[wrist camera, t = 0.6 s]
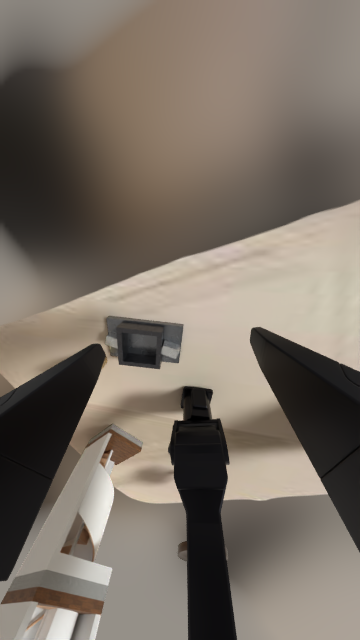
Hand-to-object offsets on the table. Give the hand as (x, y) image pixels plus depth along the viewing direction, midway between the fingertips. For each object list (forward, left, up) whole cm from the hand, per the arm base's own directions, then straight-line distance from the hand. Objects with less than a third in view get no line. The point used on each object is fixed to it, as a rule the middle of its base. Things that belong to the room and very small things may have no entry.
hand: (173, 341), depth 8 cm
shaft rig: (-10, +6, -16) cm, 20 cm away
